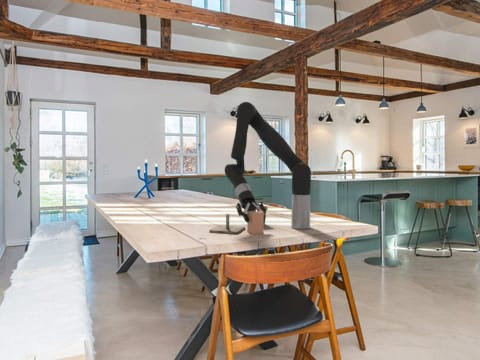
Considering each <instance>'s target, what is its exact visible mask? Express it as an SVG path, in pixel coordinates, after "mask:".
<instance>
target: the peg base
mask: <svg viewBox="0 0 480 360" xmlns="http://www.w3.org/2000/svg"><path fill="white" fill-rule="evenodd" d="M245 230H246V227H245V226H236V225H235V226H233V225H230V214H229V213H226V215H225V225H221V224H220V225H217V226H214V227H212V228H211V229H209V231H208V232H209V233H213V234H226V235H227V234H229V235H239V234H240V233H242V232H243V231H245Z"/></svg>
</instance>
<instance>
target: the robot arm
mask: <svg viewBox="0 0 480 360" xmlns="http://www.w3.org/2000/svg"><path fill="white" fill-rule="evenodd" d="M236 109H237V110H236V125H235V132H234V138H233V144H232V147H231V148H232V149H231V153H230V158H232V159H233V160H235V161H236V163H227V164H226V165H225V166H224V174H225V176H226V178H227V179H228V180H229V181H230V183H231V184H232V185H233V187H234V190H235V194H236V197H237V199H238V201H239V202H237V204H236V206H235V208H236V212H237V214H238V216H242V217H243V219H244V221H245V222H246V223H248V222H249V217H248V215H247V211H261V212H264V213H265V211H266V212H267V210H266V209H265V206H264V204H263V201H259V202H257V201H256V198H255V195H254V194H253V191H252V190H251V187H250V186H249V184H248V181H247V179H246V178H245V177H244V174H245V168H246V166H245V156H246V155H245V154H246V150H247V142H248V131H249V126H250V127H251V128H252V129H253V130H254V131H255V132H256V134H257V135H258V138H259V139H260V140H261V141H262V143H263V144H264V145H265V147H266V148H267V149H268V150H269V152H271V153H272V154H273V155H274V156H275V157H277V158H278V159H279V160H280V161H281V162H283V164H285V166H286V167H287V168H288V170H289V171H290V172H291V224H290V225H291V228H292V229H296V230H309V229H310V228H311V187H312V186H311V185H312V170H311V168H310V166H309V165H308V164H307V163H306V162H304V160H302V159H301V158H300V157H299V156H298V155H297V154H296V153H295V152H294V151H293V149H292V148H291V146H290V145H289V144H288V142H287V140H286V139H284V138H283V136H282V135H281V134H280V133H279V131H277V130H276V129H275V128H274V127H273V126H272V125H271V124H270V123H268V122H267V121H266V120H265V119H264V118H263V116H262V115H261V114H260V112H259V111H258V110H257V108H256V107H255V105H254V104H252V103H251V102H250V101H243V102H241V103H239V104H238V106H237V108H236ZM256 208H257V210H256ZM264 220H265V221H266V219H265V216H264Z"/></svg>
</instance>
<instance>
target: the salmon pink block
mask: <svg viewBox="0 0 480 360" xmlns="http://www.w3.org/2000/svg"><path fill="white" fill-rule="evenodd" d="M248 217H249V222H248V223H247V222H246V223H247V225H246V227H247V229H246V231H247V233H249V234H252V235H259V233H260V234H264V231H265V229H264V212H261V211H248Z"/></svg>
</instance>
